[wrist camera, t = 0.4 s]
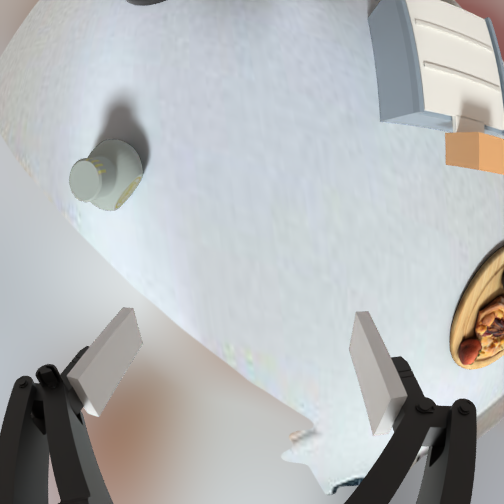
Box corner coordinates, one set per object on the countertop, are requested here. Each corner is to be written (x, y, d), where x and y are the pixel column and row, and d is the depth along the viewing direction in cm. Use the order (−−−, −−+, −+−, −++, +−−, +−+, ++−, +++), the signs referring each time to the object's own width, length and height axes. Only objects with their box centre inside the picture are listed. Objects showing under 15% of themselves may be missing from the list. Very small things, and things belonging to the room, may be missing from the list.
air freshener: (123, 131, 38) (86, 128, 29) (157, 163, 40) (125, 167, 30) (88, 183, 42) (50, 192, 32) (118, 214, 43) (84, 231, 34)
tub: (367, 18, 29) (395, -19, 17) (450, 39, 28) (490, 18, 16) (380, 121, 35) (419, 111, 23) (462, 134, 34) (512, 135, 22)
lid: (395, -4, 20) (415, -28, 14) (475, 24, 19) (501, 11, 12) (416, 161, 28) (447, 164, 21) (494, 172, 27) (527, 179, 20)
